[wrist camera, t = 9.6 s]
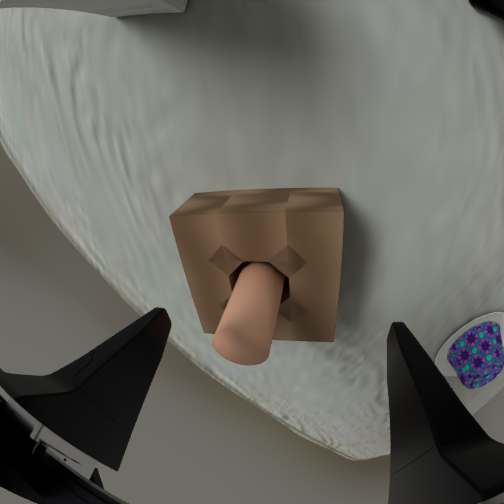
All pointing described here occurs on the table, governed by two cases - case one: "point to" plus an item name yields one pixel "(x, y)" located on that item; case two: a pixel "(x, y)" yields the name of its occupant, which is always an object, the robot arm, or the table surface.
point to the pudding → (474, 352)
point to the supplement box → (104, 6)
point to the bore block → (265, 253)
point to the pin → (250, 314)
